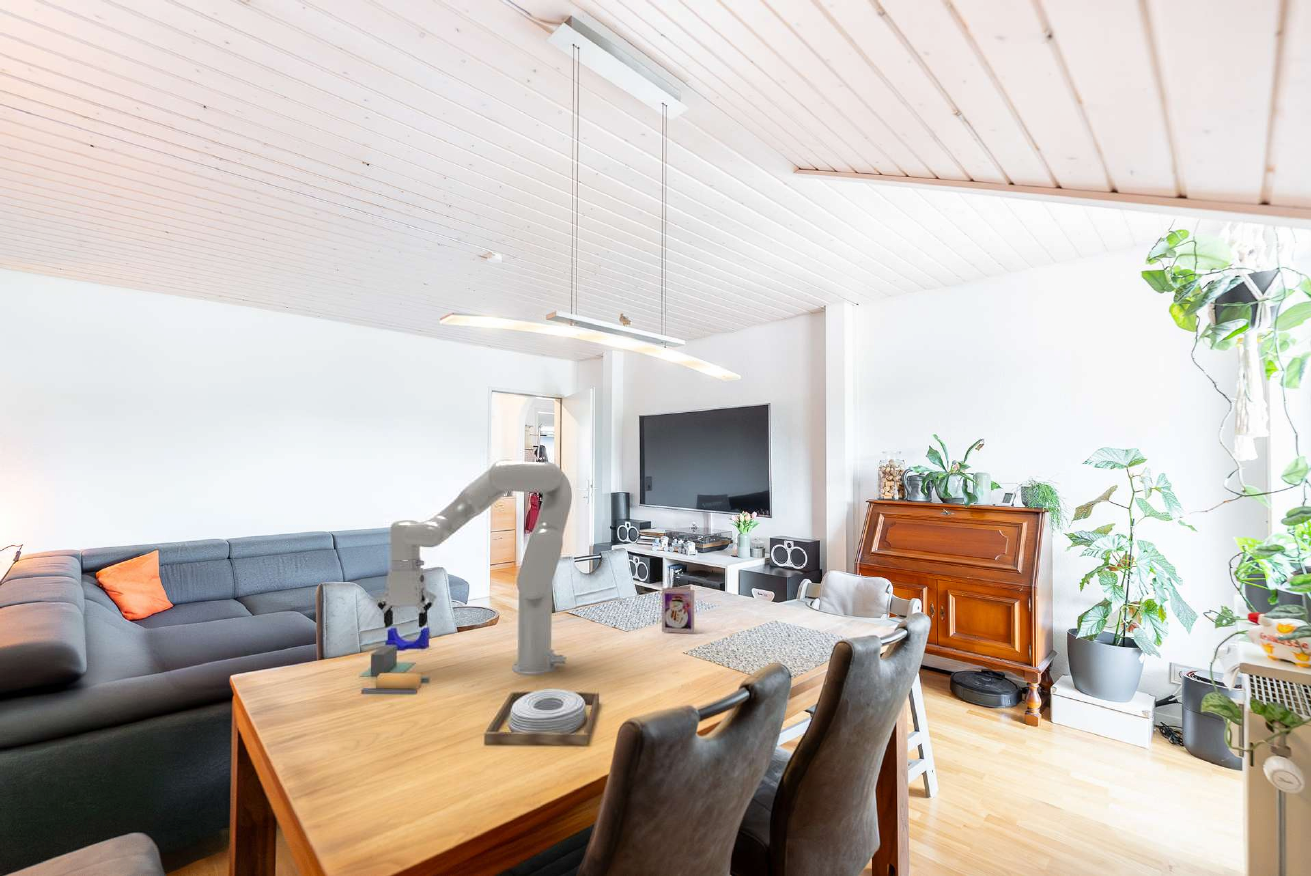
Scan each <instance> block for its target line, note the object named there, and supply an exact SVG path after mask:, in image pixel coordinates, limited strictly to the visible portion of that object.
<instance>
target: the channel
mask: <svg viewBox="0 0 1311 876" xmlns="http://www.w3.org/2000/svg"><path fill="white" fill-rule="evenodd" d="M375 678H376V680H377V677H375ZM376 680H375V681H376ZM430 681H431V680H430V677H429V676H428V677H427V676H421V684H428V683H430ZM360 693H361V695H416V694H417V693H418V689H403V688H376V687H363V688H362V689H361V691H360Z"/></svg>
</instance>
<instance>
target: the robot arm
mask: <svg viewBox="0 0 1311 876" xmlns="http://www.w3.org/2000/svg"><path fill="white" fill-rule="evenodd" d="M508 492H518V493H542V500H541V504H540V508H539V512H538V516H537V517H536V519H537V520H536V522H535V525H534V527H533V530H532V532H531V533H530V534H529V535H530V536H529V538H528V541H527V544H526V547H525V548H526V549H525V551H524V555H523V558H522V561H521V564H520V568H519V570H518V573H517V578H516V587H517V590H518V612H517V613H518V616H517V618H518V620H517V622H518V623H517V625H518V627H517V660H516V661H515V662H513V664H512V668H511V669H512V672H513V673H514V674H518V675H521V676H522V675H523V676H538V675H545V674H548V673H550V672H553V671H554V670H555V669H557V664H559V665H561V664H563V665H565V664H567V656H564V654H556V653H555V649H552V625H553V623H552V619H553V618H552V615H553V605H552V604H553V581H554V578H555V575H556V571H557V567H558V565H559V561H560V558H561V556H562V555H561V554H562V550H563V546H564V532H565V529H566V526H567V522H568V517H569V515H570V510H571V505H572V501H573V500H572V498H573V494H572V492H573V491H572V487H571V484H570V481H569V478H568V476H567V475H566V474H565V473H564V472H563V470H562V469H560V467H559V466H557V464H555V463H553V462H550V461H544V462H543V461H542V462H540V461H539V462H537V461H516V460H511V459H501V460H498V461H495V463H493V464H492V465H491V467H490V468H488V470H486V471H485V472H484V473H482V474H481V475H480V476H479V477H478V478H476V479H475V480H473V482H471V483H470V484H468V485H467V486H465V488H463V490H461V492H460V493H459V495H458V496H457V497H456V498H455V499H454V500H453V501H452V502H451V503H450V504H448V505H447V506H446V507H445V508H444V509H442V510H441V511H440V512H439V513H437V514H436V515H435V516H433V517H432V518H430V519H429V520H425V521H421V522H418V521H417V520H414V519H413V520H411V519H410V520H409V519H408V520H406V519H405V520H398V521H397V520H396V521H394V522H393V523H391V525H390V570H388V571H387V573H388V574H387V577H386V584H385V591H383V592H381V593H379V594H378V595H375V596H374V601H375V602H376V604H377V607H378V608H379V609H380V610H381V613H383V624H384V628H389V627H391V626H392V625H393V624H394V612H393V609H392V608H393V607H416V608H417V609H418V611H419V613H418V627H419V628H424V626H426V625H427V622H428V611H429V610H430V609H431V608H432V607H433V605H434V603H435V601H436V599H437V595H436V594H434V593H433V592H430V591H428V590H427V584H426V578H425V572H424V568H422V567H421V566H425V560H422V559H421V556H420V555H421V552H420V551H421V548H420V547H422V548H434V547H438V546H440V545H441V544H443V542H445V541H446V540H448V539H449V538H450V537H451V536H453V535H454V534H455V533H456V532H458V531H459V530H460V529H461V528H462V527H464V526H465V525H466V524H467V523H468V522H470V521H471V520H472V519H474V518H476V517H478V516H479V515H481V514H482V513H484V512H485V511H486V510H487V509H488V508H490V507H491V506H492V505H494V503H496V502H497V501H498V500H500V499H501V498H502V497H503V496H505V495H506V494H507V493H508ZM384 597H385V601H384V600H383V599H384ZM427 599H428V602H427V603H426V601H427Z"/></svg>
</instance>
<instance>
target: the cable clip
mask: <svg viewBox="0 0 1311 876" xmlns="http://www.w3.org/2000/svg"><path fill="white" fill-rule="evenodd" d="M384 642H385V644H384V645H397V652H398V651H400V652H401V651H406V650H426V649H427V648H429V647H430V627H422V629H420V634H419V637H418V638H417V639H416V640H413V641H408V640H404V639H403V638H401V636H400V635H399V634H398V629H397V627H391V628H389V629H388V630H387V640H386V641H384Z"/></svg>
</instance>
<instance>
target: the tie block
mask: <svg viewBox="0 0 1311 876" xmlns="http://www.w3.org/2000/svg"><path fill="white" fill-rule="evenodd" d="M397 653H398V651H397V645H385V644H384V645H383V646H381V647H380V648H379V649H377V650H376V651H374V652H373V653H371V654H370V668H371V676H378V675H379V674H380V673H388V672H389V671H391V670H392V669H393V668H395V667H396V666H397V662H398V654H397Z"/></svg>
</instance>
